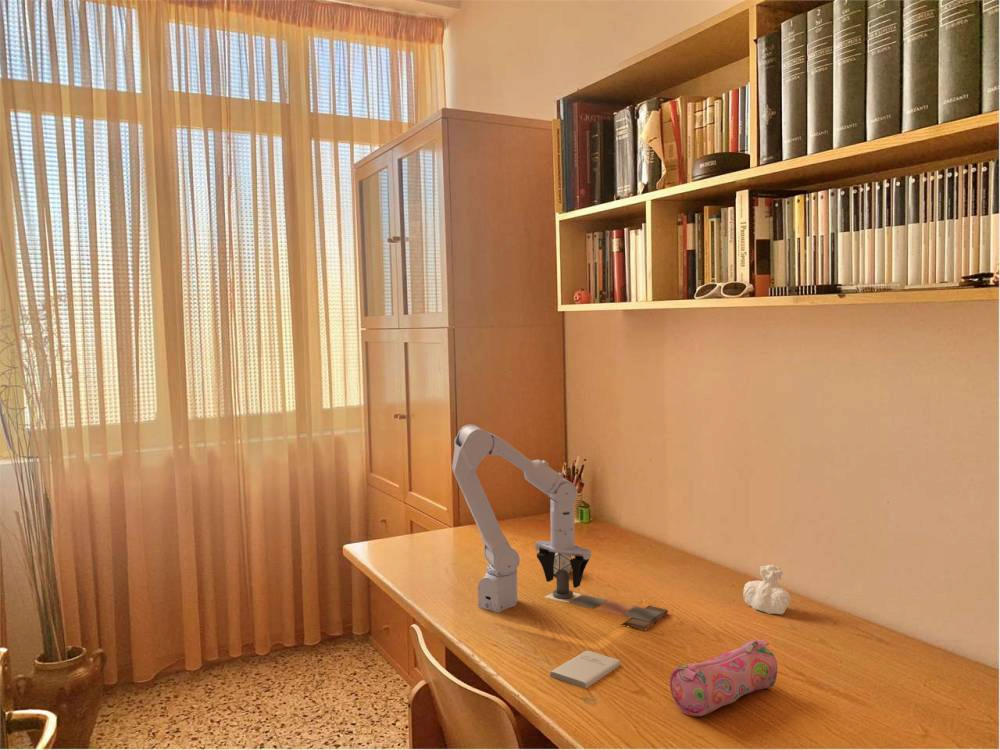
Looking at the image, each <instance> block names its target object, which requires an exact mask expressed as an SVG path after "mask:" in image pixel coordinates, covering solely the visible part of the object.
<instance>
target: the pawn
mask: <svg viewBox="0 0 1000 750" xmlns="http://www.w3.org/2000/svg"><path fill="white" fill-rule="evenodd" d="M555 577H556V589H555V590H553V597H555V598H557V599H569V598H572V597H573V593H574V591H572V590H570V574H569V573H568V572H567V571H566V570H563V569H562V570H559V571H558V572H557V574H556V575H555Z"/></svg>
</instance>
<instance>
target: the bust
mask: <svg viewBox="0 0 1000 750" xmlns="http://www.w3.org/2000/svg"><path fill="white" fill-rule="evenodd" d="M759 568H760V569H759V571H760V573H759V574H760V576H761V577H762V580H752V581H748V582H746V583H745V584H744V587H743V600H744V602H745V603H746V604H747V605H748V606H750V607H752V609H754V610H755V611H756V610H758V611H760V612H764V613H766V614H768V615H784V614H785V612H786V609H787V608H788V605H789V604H790V603H791V601H792V597H791V595H790V593H789V592H788V591H787V590H786V589H785V588H784V587H783V586H781V585H780V586H779V582H778V580H780V581H781V580H782V575H783V574H784V572H783V571H782V569H781V567H780V566H778V565H776V564H767V565H763V566H762V565H759Z"/></svg>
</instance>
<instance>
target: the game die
mask: <svg viewBox="0 0 1000 750" xmlns="http://www.w3.org/2000/svg"><path fill="white" fill-rule="evenodd" d="M571 559H573V557H572V556H570V555H564V554H559V553H555V558H554V576H556V574H557V572H558V571H559V570H562V569H563V570H566V571H567V572H568V573H569V575H570V574H571V572H572V567H571V563H570V560H571Z"/></svg>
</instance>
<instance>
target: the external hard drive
mask: <svg viewBox="0 0 1000 750" xmlns="http://www.w3.org/2000/svg"><path fill="white" fill-rule="evenodd" d="M619 665H620V666H621V660H620V659H617V658H614V657H610V656H607V655H604V654H601V653H598V652H594V651H591V650H585V651H583V652H582V653H580V654H577V656H574V657H572V659H571V658H570V659H569V660H568V661H565V662H564V663H563V664H561V665H559V666H557V667H556V668H555V669H554V668H553V669H552V670H551V671H550V672H549V677H551V678H554V679H555V680H559V681H562V682H566V683H568V684H571V685H574V686H576V687H577V686H578V687H580V688H582V689H588V688H589V687H590V686H592V685H593V684H595V683H597V682H598V681H599V680H601V679H603V678H604V677H605V676H607V675H609V674H610V673H611V672H613V671H614V670H616V669H617V668H619V667H620V666H619ZM618 666H619V667H618ZM616 667H617V668H616ZM615 668H616V669H615ZM612 670H613V671H612ZM609 672H610V673H609Z"/></svg>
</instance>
